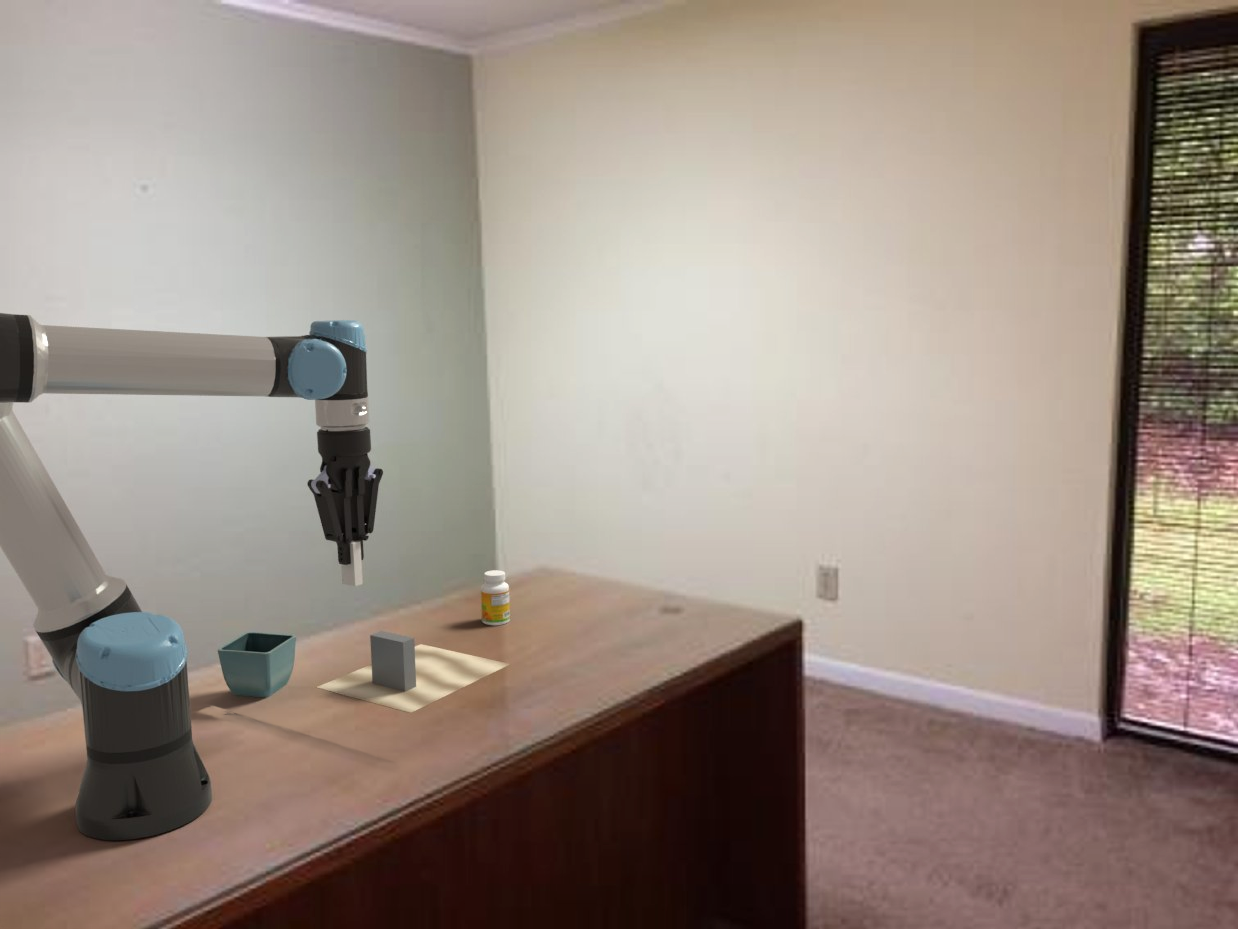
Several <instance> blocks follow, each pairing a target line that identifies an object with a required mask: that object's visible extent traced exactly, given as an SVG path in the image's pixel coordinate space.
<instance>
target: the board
mask: <svg viewBox="0 0 1238 929" xmlns="http://www.w3.org/2000/svg"><path fill="white" fill-rule="evenodd" d="M510 665H511V663H508V662H502V661H498V660H495V659H489V658H485V657H481V656H476V655H471V654H467V653H463V652H458V651H454V650H449V649H445V648H440V647H436V646H432V645H431V646H430V645H427V644H422V643H420V644H417V645H415V669H416V687H414V688H412V689H410V690H408V691H406V692H404V691H400V690H396V689H392V688H388V687H385V686H381V685H377V684H373V683H372V663H371V664H369V665H367V666H364V667H362V668H359V669H357V670H354V671H352V672H350V673H347V674H345V675H343V676H341V677H338V678H335V679H333V680H331V681H328V682H325V683H323V684H321V685H319V686H316V688H317V689H319V690H324V691H327V692H328V691H329V692H332V693H336V694H338V695H343V696H347V697H349V698H353V699H358V700H361V701H363V702H368V703H372V704H376V705H380V706H383V707H387V708H390V709H391V708H392V709H395V710H398V711H401V712H404V713H409V714H412V713H414V712H415V711H417V710H420V709H422V708H424V707H426V706H428V705H430V704H432V703H435V702H436V701H438V700H440V699H443V698H444V697H446V696H448V695H450V694H453V693H454V692H457V691H459V690H461V689H463V688H464V687H467V686H469V685H472V683H473V684H474V683H475V682H477V681H479V680H482V679H483V678H485V677H487V676H489V675H491V674H494V673H495V672H497V671H500V670H502V669H504V668H505V667H508V666H510Z"/></svg>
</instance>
